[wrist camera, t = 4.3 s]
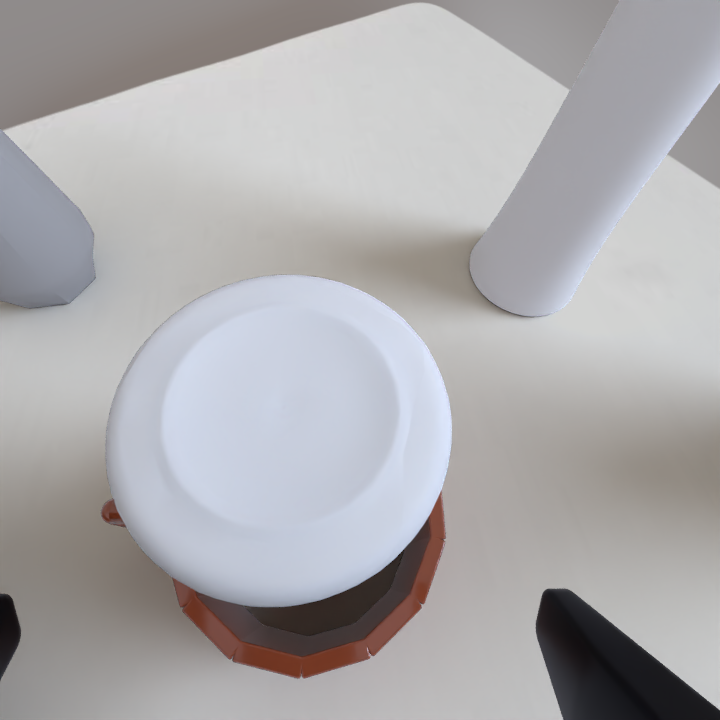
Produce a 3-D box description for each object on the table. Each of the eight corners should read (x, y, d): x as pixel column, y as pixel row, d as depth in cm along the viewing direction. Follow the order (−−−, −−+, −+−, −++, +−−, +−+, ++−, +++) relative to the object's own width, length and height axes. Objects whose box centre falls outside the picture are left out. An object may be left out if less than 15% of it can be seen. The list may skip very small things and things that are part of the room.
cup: (410, 421, 20) (432, 381, 16) (425, 650, 16) (459, 675, 12) (165, 417, 19) (122, 375, 15) (115, 656, 15) (38, 685, 11)
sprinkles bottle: (233, 515, 17) (25, 376, 5) (322, 445, 19) (315, 216, 7) (302, 614, 16) (226, 730, 4) (391, 530, 17) (534, 428, 5)
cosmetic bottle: (449, 248, 25) (927, -1036, 5) (534, 222, 26) (1165, -854, 6) (504, 332, 22) (1834, -1492, 3) (595, 298, 24) (1885, -1038, 4)
